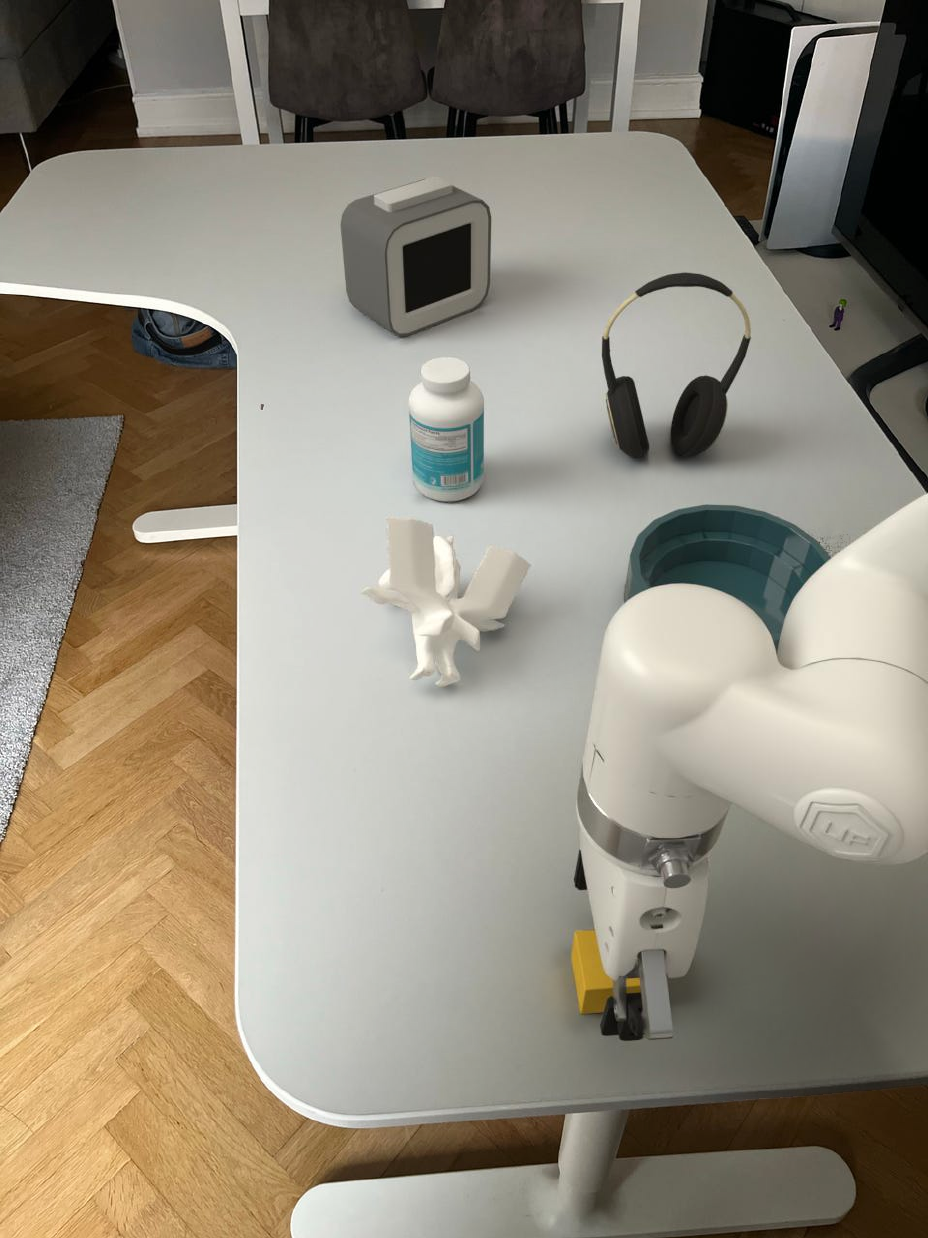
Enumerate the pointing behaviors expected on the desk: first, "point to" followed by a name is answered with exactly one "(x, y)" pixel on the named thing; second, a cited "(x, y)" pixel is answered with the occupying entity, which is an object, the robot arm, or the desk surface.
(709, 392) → the headphones
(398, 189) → the alarm clock
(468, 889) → the desk surface
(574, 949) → the yellow block
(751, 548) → the bowl
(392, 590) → the figurine
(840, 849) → the robot arm
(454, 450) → the pill bottle
